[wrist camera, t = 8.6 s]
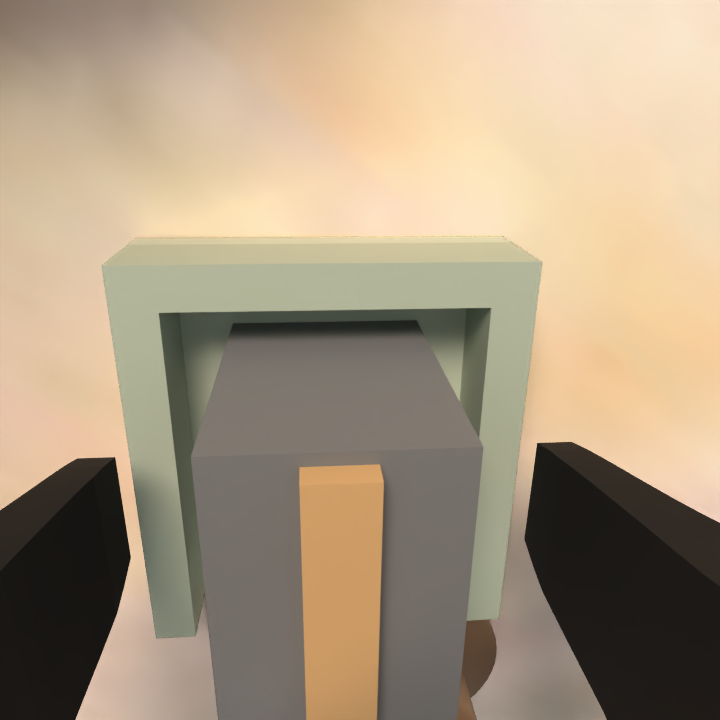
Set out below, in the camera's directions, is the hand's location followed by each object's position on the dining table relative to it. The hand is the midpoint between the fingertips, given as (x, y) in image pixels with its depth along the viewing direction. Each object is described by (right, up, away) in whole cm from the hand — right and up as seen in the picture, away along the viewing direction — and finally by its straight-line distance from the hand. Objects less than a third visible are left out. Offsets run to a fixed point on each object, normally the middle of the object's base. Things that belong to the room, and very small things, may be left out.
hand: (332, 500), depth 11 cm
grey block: (0, +1, +2) cm, 3 cm away
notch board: (0, +1, +3) cm, 3 cm away
